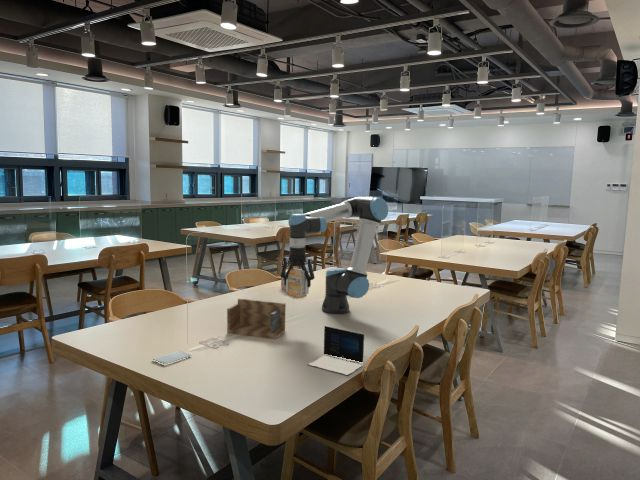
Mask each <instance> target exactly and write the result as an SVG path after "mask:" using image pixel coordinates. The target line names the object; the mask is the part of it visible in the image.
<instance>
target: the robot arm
mask: <svg viewBox="0 0 640 480" xmlns="http://www.w3.org/2000/svg"><path fill="white" fill-rule="evenodd" d="M388 215H389V206H388V204H387V201H386V200H385V199H384V198H382V197H378V196H356V197H352V198H349V199H346V200H343V201H341V202H340V203H338V204H335V205H334V204H333V205H331V206H327V207H324V208H320V209H317V210H313V211H309V212H306V213H292V214H291V215H290V216H289V219H288V227H289V246H290V247H289V255H288V257H287V256H285V257H283V258H282V261H283V264H282V268H281V270H282V272H281V271H280V279H281V278H284V285H286V290H285V293H286V294H288V275H289V272H290V270H291V269H293V268H295V267H300V269H302V270H303V271H304V273H305V274H304V275H305V277H306V279H307V280H306V281H305V294H307V295H308V294H310V293H309V289H310V288H311V286H312V285H311V284H312V283H311V281H313V280H315V274H314V270H313V269H314V267H313V264H312V262H313V258H308V257H307V256H306V240H307V239H306V238H307V237H306V236H307V234H316V233H319V234H320V233H324V232H325V231H326V230H327V228H328V223H329V222H332V221H336V220H339V219H344V218H345V219H350V218H358V220H359V222H360V225H359V230H358V233H357V236H356V240H355V245H354V247H353V249H354V250H353V253H352V256H351V260H350V265H349V266H348V267H347V268H330V269H327V270H326V272H325V295H324V299H323V302H322V305H321V310H322V311H323V312H325V313H328V314H334V315H335V314H336V315H337V314H347V313H348V312H350V304H349V302H348V297H350V298H354V299H360V298H363V296H365V295H367V293H368V291H369V289H370V282H369V279H368V278H367V277H368V273H367V265H368V262H369V258H370V254H371V251H372V247H373V244H374V239H375V237H376V236H375V235H376V231H377V227H379V226H381V223H382V221H383V220H385V219H386V218H387V217H388ZM288 262H289V263H290V264H289V267H288V271H287V273H286V275H285V272H286V269H287V266H288ZM305 262H306V264H307V267H306V264H305ZM306 270H307V271H306Z"/></svg>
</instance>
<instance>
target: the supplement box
mask: <svg viewBox="0 0 640 480" xmlns="http://www.w3.org/2000/svg"><path fill="white" fill-rule="evenodd" d="M306 271H308V269H307V270H306ZM304 274H305V273H304V271H303V270H302V268H298V267H293V269H291V270H290V272H289V275H288V293H287V294H288V296H290V297H293V298H294V297H296V298H299V299H301V298H306V297H308V294H305V281H306V280H307V279H306V277H305V275H304Z"/></svg>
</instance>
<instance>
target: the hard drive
mask: <svg viewBox="0 0 640 480" xmlns="http://www.w3.org/2000/svg"><path fill="white" fill-rule="evenodd" d="M190 356H192V354H190V353H187V352H185V351H183V350H177V351H173V352H170V353H167V354H164V355H161V356H158V357H155V358H152V359H153V360H156V361H158V362H160V363H163V364H168V363H171V362H174V361H177V360H180V359H183V358H187V357H190Z"/></svg>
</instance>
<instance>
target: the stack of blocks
mask: <svg viewBox="0 0 640 480" xmlns="http://www.w3.org/2000/svg"><path fill="white" fill-rule="evenodd" d="M288 269H289V268H288ZM288 269H287V268H286V272H285V275H286V273H287V271H288ZM281 272H282V269H281V270H280V273H281ZM280 280H281V281H280V286H281V287H280V288H281V289H282V290H284V291H286V285H284V278H281V277H280Z"/></svg>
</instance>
